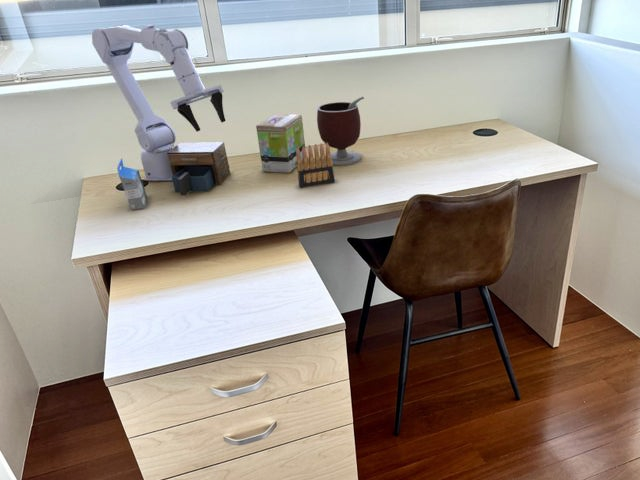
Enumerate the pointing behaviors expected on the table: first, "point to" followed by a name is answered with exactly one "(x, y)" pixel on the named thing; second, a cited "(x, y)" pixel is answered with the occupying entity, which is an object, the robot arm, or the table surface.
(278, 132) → the tea box
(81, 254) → the table surface
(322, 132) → the mate gourd
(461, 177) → the table surface
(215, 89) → the robot arm
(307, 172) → the ammunition clip
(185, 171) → the storage box
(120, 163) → the label tape box
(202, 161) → the drawer pedestal
